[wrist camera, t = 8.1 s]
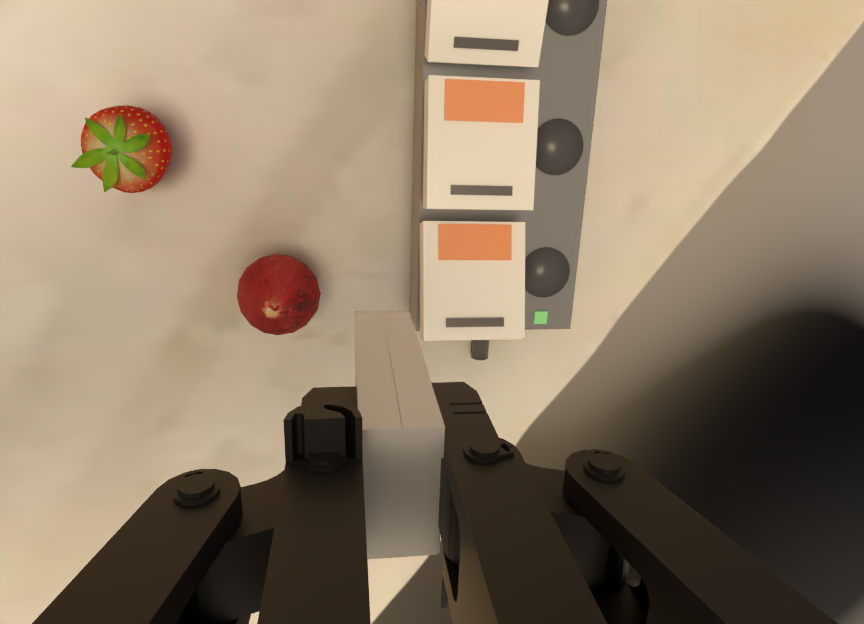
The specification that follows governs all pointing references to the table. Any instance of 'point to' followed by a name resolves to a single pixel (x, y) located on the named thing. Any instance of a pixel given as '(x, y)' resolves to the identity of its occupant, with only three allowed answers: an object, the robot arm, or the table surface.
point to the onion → (278, 294)
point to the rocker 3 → (472, 280)
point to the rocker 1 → (485, 31)
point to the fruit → (125, 148)
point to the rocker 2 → (480, 143)
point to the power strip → (555, 158)
